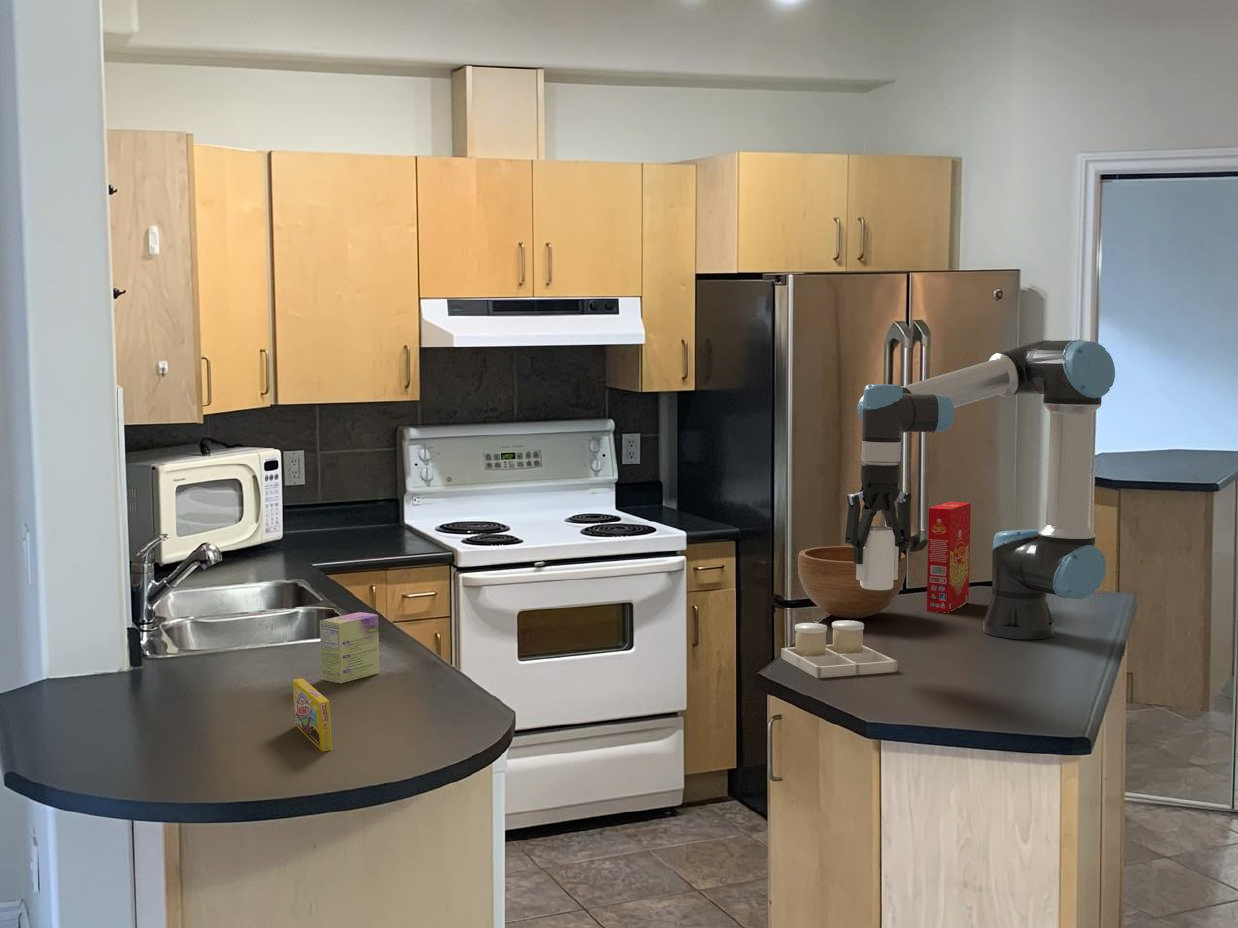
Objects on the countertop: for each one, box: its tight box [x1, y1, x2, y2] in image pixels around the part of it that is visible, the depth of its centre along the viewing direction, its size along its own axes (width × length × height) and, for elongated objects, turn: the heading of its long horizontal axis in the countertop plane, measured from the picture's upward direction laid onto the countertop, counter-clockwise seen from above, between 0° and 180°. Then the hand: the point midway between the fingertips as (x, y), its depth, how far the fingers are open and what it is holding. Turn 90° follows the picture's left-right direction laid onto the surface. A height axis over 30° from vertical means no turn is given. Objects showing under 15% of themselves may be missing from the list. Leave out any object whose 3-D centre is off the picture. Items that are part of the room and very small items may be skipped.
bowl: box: [797, 545, 907, 620], centre depth 318 cm, size 25×25×15 cm
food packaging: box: [926, 501, 972, 614], centre depth 329 cm, size 15×5×25 cm, turn 147°
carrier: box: [780, 643, 899, 679], centre depth 271 cm, size 17×17×2 cm
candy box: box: [292, 677, 333, 752], centre depth 223 cm, size 16×2×8 cm, turn 28°
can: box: [860, 525, 895, 591], centre depth 267 cm, size 6×6×12 cm
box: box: [319, 611, 380, 684], centre depth 263 cm, size 10×6×12 cm, turn 145°
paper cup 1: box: [794, 622, 828, 657], centre depth 273 cm, size 6×6×7 cm
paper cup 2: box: [831, 619, 865, 654], centre depth 276 cm, size 6×6×7 cm
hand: (876, 579), depth 267 cm, fingers closed on can, 6 cm apart
